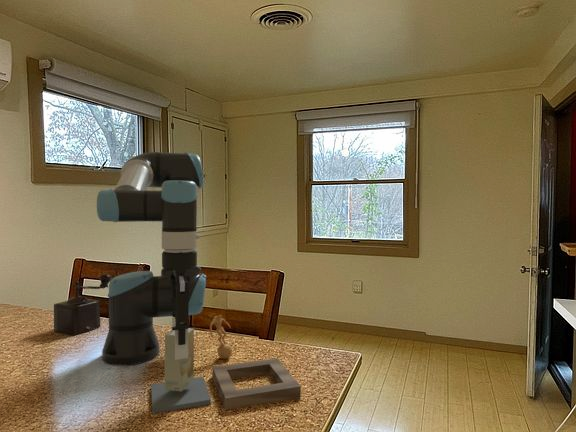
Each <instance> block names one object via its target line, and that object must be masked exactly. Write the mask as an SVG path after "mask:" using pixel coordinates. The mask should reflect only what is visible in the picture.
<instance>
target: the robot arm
mask: <svg viewBox="0 0 576 432" xmlns="http://www.w3.org/2000/svg"><path fill="white" fill-rule="evenodd" d="M203 187H204V172H203V164H202V162H201V158H200V156H199V155H198V154H195V153H188V152H184V153H182V152H164V151H163V152H162V151H161V152H157V151H148V152H144V153H141V154H138V155H135V156H132V157H131V158H129V159H128V160H127V161H126V162H125V163H124V164H123V166H122V167H121V170H120V178H119V180H118V182H117V184H116V185H115V188H114V189H113V188H109V189H103V190H101V189H100V191H99V192H97V197H96V215H97V218H98V219H99V220H100V221H101V222H112V223H123V222H125V223H126V222H129V223H130V222H133V223H134V222H135V223H136V222H139V223H140V222H161V224H162V226H161V249H162V250H163V252H162V253H161V267H162V268H161V269H160V270H161V272H160V275H156V276H154V273H153V271H151V270H139V271H131V272H128V273H123V274H120V275H117V276H114V277H113V278H112V279H111V281H110V282H109V283H108V294H107V298H108V332H107V335H106V339H105V342H104V344H103V347H102V351H101V355H102V356H101V360H102V361H103V362H104V363H105V364H108V365H112V366H131V365H132V366H133V365H137V364H140V363H144V362H147V361H150V360H152V359H154V358H156V357H158V355H159V354H160V343H159V339H158V337H157V334H156V331H155V328H154V322H153V321H154V320H153V319H154V318H165V317H166V318H167V317H172V318H171V324H172V325H171V331H172V330H175V360H177V359H185V358H188V328H190V322H189V321H190V320H189V316H194V315H198V314H200V313H202V311H203V308H204V303H205V294H206V284H207V275H206V274H204V273H202V268H201V266H199V264H198V252H197V250H196V248H197V247H198V246H197V245H198V244H197V243H198V241H197V240H198V239H200V235H199V234H197V233H198V232H197V231H198V228H197V226H198V225H197V220H198V219H197V217H198V216H197V215H198V214H197V212H198V210H197V209H198V201H197V200H198V194H199V192H200V189H202V188H203ZM148 188H161V190H147V189H148Z"/></svg>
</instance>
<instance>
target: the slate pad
mask: <svg viewBox="0 0 576 432" xmlns="http://www.w3.org/2000/svg"><path fill="white" fill-rule="evenodd" d="M150 386H151V391H150V392H151V412H152V415H154V414H160V413H165V412H172V411H177V410H182V409H189V408H195V407H202V406H206V405H212V400H211V395H210V392H209V390H208V387H207V384H206V382H205V378H204V376H198V377H194V380H193V381H192V382H191V383H190V384H189V385H188V386H187V387H186V388H185V389H184V390H183V391H173V390H165V381H163V382H155V383H151V384H150Z"/></svg>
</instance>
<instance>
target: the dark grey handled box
mask: <svg viewBox="0 0 576 432" xmlns="http://www.w3.org/2000/svg"><path fill="white" fill-rule="evenodd" d="M112 279H113V278H112V276H111V275H110V274H108V273H107V274H106V273H103V274H100V276H99V280H100V285H99V286H93V285H92V286H91V285H88V286H87V285H84V286H83V285H82V286H80V282H79V281H78V280H76V281H75V282H74V284H75V285H74V288H75V289H74V290H75V294H74V295H75V296H73V297H70V298H68V299H67V300H66V301H61V302H57V303H53V331H54V332H56V333H59V334H63V335H69V336H73V337H74V336H79V335H82V334H84V333H88V332H90V331H93V330H95V329H98V328H99V327H101V326H102V325H101V307H100V306H101V301H100V300H97V299H92V298H91V299H90V298H88V297H86V296H84V295H79V294H80V293H79V289H82V290H83V289H84V290H86V289H87V290H88V289H89V290H90V289H91V290H99V289H106V288H109V283H110V281H111V280H112Z"/></svg>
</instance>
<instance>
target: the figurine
mask: <svg viewBox="0 0 576 432" xmlns="http://www.w3.org/2000/svg"><path fill="white" fill-rule="evenodd" d="M223 322H224V323H225V324H226V325H227V326H228V327H229V329H231V325H230V324H229V322H228V321H227V320H226V319H225V318H223V317H222V315H221V314H218V315H215V316H214V317H212V321H211V322H210V324H209V331H210V337H213V336H214V333H213V329H212V328H213V327H212V326H213V325H215V327H216V329H215V332H216V333H217V335H218V336H219V337H218V342H219V344H220V345H219V346H218V349H217V355H218V357H219V358H220V359H224V360H225V359H228V358H230V357H231V355H232V353H233V349H232V346H230V345H229V344H228V343H227V342H226V341H225V338H226V337H227V334H228V333H227V332H226V331H225V329H224V327H223V326H222V323H223ZM221 340H222V341H221Z"/></svg>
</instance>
